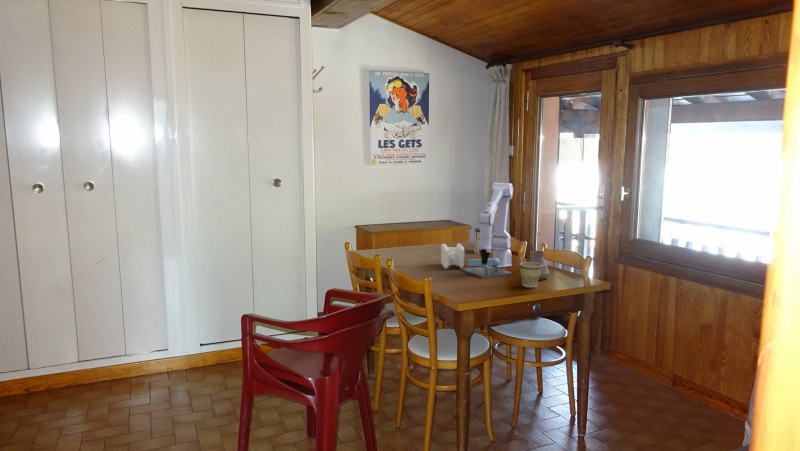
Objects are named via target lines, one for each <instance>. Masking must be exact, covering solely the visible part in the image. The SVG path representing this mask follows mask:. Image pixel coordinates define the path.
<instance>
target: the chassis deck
mask: <svg viewBox="0 0 800 451" xmlns="http://www.w3.org/2000/svg"><path fill="white" fill-rule="evenodd" d="M460 270H461V272H464V273H467V274H469V275H473V276H475V277H477V278H481V279H487V278H495V277H496V278H497V277H503V276H511V275H513V272H511V271H509V270H505V269H502V268H500V267H497V271H495V272H492V273H484V274H475V273H472V272H471V267H465V268H464V267H463V268H462V269H460Z"/></svg>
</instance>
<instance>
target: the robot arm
mask: <svg viewBox="0 0 800 451" xmlns="http://www.w3.org/2000/svg"><path fill="white" fill-rule="evenodd" d="M491 193H492V195H491V198H490V202H487V203H486V206H485V207H484V209H483V211H482V212H481V213H480V214H479V215H478V220H477V222H478V228H480V243H479V246H477V247H478V248H482V250H479V252H480V254H479V255H480V259H481V260H482V264H487V262H488V259H489V257H490V255H491V254H492V259H493V258H498V259H499V265H498V266H497V268H506V267H512V266H513V265H512V251H511V249H510V248H511V243H512V242H511V241H512V240H511V234H510V233H508V231H507V223H508V214H509V212H508V211H509V202H510V200H512V199H513V195H514V194H513V193H514V186H513V183H509V182H508V183H506V182H505V183H504V182H493V184H492V185H491ZM498 203H499V204H498ZM497 211H498V214H497V222H496V223H497V224H496V229H495V230H494V232H493V228H492V227H493V225H494V221H495V217H496V216H495V215H496V213H497ZM491 233H492V236H491ZM492 252H493V253H492ZM491 266H493V265H491Z"/></svg>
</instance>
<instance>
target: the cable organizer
mask: <svg viewBox="0 0 800 451" xmlns="http://www.w3.org/2000/svg"><path fill="white" fill-rule="evenodd" d="M440 249H441V250H440V262H441V265H442V267H443V269H444V270H447V269H449V266H453V265H454V266H456V267H459V269H460V270H461V269H463V268H464V266H465V247H464V246H463V245H462V244H461V243H457V244H456V246H453V247H452V246H451V247H449V246H448V245H447V244H445V243H441V245H440Z"/></svg>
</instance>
